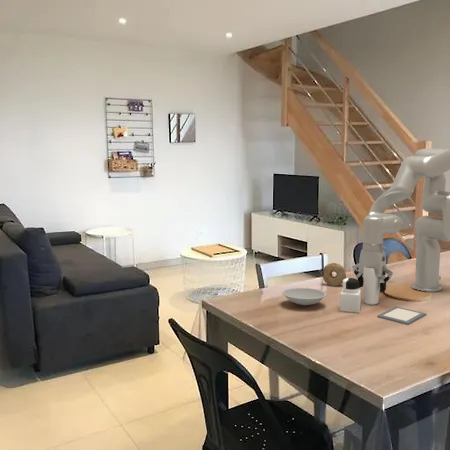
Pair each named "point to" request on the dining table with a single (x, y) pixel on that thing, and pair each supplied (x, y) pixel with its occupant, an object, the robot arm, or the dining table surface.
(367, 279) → the drinking glass
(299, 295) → the dish
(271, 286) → the dining table surface
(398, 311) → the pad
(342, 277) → the brown thick ring
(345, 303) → the medicine bottle
